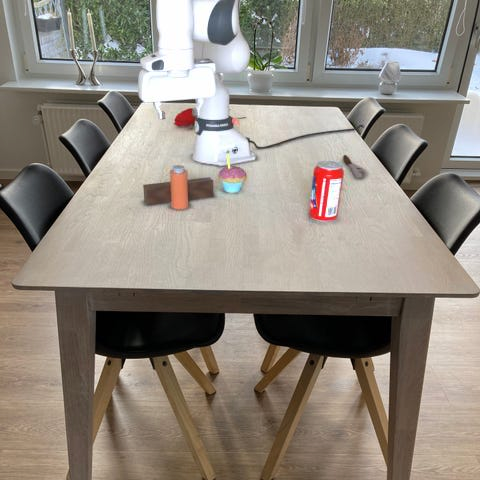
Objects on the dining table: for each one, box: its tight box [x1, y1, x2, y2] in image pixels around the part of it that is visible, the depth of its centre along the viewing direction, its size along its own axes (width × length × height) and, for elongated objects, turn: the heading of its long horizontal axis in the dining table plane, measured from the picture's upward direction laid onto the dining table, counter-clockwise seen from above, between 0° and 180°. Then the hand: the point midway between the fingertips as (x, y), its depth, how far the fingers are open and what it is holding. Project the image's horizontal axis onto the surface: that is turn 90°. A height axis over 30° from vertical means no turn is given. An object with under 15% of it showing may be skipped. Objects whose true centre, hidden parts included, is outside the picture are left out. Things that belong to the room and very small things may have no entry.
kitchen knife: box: [342, 154, 365, 179], centre depth 180 cm, size 21×2×5 cm
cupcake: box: [218, 153, 248, 194], centre depth 156 cm, size 9×8×12 cm
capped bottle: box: [169, 164, 189, 210], centre depth 144 cm, size 5×5×11 cm
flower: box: [173, 107, 247, 130], centre depth 215 cm, size 9×10×30 cm
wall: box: [142, 176, 214, 206], centre depth 150 cm, size 20×3×5 cm, turn 114°
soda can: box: [308, 160, 345, 223], centre depth 140 cm, size 8×8×15 cm
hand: (179, 117), depth 139 cm, fingers open, 8 cm apart
